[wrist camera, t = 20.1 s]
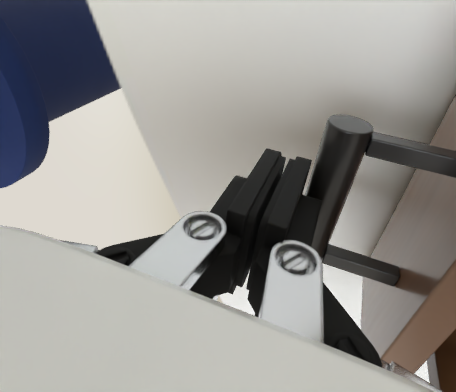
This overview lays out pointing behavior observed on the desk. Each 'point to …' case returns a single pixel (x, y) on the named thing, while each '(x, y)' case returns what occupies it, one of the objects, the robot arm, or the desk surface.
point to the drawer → (398, 243)
